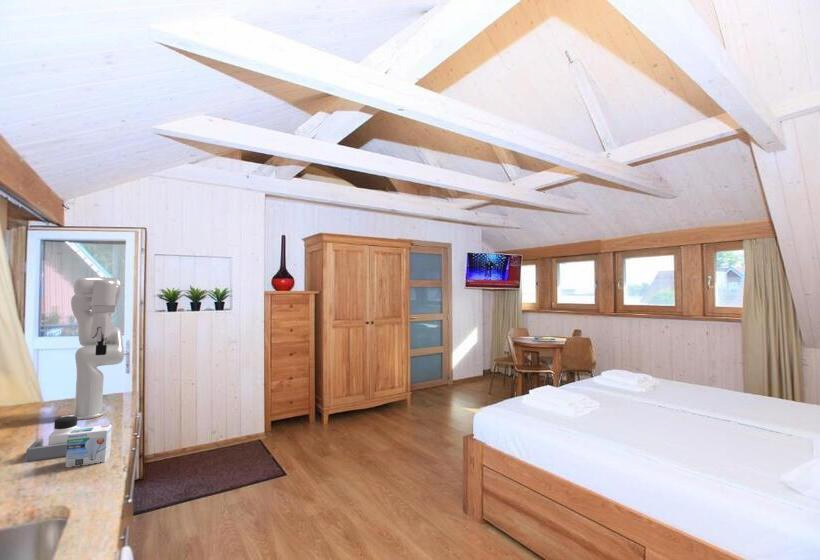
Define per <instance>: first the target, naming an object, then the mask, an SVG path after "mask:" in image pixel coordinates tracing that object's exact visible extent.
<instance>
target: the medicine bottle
mask: <svg viewBox="0 0 820 560" xmlns="http://www.w3.org/2000/svg"><path fill="white" fill-rule="evenodd" d="M53 424H54V426H53V432H52V433H50V434H49V436H48V444H47V446H48V445H56V444H63V443H67V438H68V434H69V433H70V432H71V431H72V430H73V429H74V428H82V427H81V426H78V420H77V417H76V416H70V415H63V416H60V417H58V418H57V417H56V419H55V420H54V423H53Z"/></svg>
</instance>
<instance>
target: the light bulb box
mask: <svg viewBox="0 0 820 560" xmlns="http://www.w3.org/2000/svg"><path fill="white" fill-rule="evenodd" d="M112 428H113V425H112V424H110V423H109V424H105V425H94V426H85V427H83V426H82V427H81V428H74V429H73V430H72V431H71V432H70V433H69V434H68V438H67V452H66V456H65V466H64V467H67V468H72V466H75V467H81V466H80V465H82V466H87V465H88V464H90V465H94V463H97V464H101V463H100V462H104V463H106V462H107V460H108V459H109V457H110V456H111V445H112V444H111V442H112ZM109 455H110V456H109ZM107 458H108V459H107ZM105 461H106V462H105Z"/></svg>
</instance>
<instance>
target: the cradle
mask: <svg viewBox="0 0 820 560" xmlns="http://www.w3.org/2000/svg"><path fill="white" fill-rule="evenodd" d="M66 452H67V443H63V444H56V445H48V444H47V445H44V438H37V440H35V441H34V442H33V443H32V444H31V445H30V446H29V447H28V448H26V453H25V462H27V461H28V462H34V461H40V460H41V461H42V460H49V459H55V458H62V456H64V457H66ZM28 462H27V463H28Z"/></svg>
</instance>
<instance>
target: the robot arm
mask: <svg viewBox="0 0 820 560" xmlns="http://www.w3.org/2000/svg"><path fill="white" fill-rule="evenodd" d="M121 292H122V282H121V281H120V279H118V278H117V277H106V276H104V277H100V276H90V277H86V278H76V280H75V281H74V284H73V293H74V294H73V296H72V297H71V299H70V305H71V311H72V314H73V315H74V317H75V320H76V321H77V327H78V329H77V330H78V341H79V345H80V346H82V347H79V348H78V349H77V350H76V351H75V354H74V355H75V356H74V358H75V365H76V382H75V383H76V384H75V385H76V386H75V401H74V402H75V403H74V412H72V413H71V414H70V415H69V416H76V417H77V421H78V420H80V421H81V420H89V419H93V418H99V417H102V416H103V415H105V414H106V413H107V410H106V409H104V408H103V396H104V395H103V394H104V378H105V376H104V374H103V372H102V371H101V370H100V369H98V368H99V367H103V366H113V365H114V366H115V365H119V364H121V363H122V362H123V360H124V358H125V357H124V356H125V352H124V351H125V349H124V341H123V334H122V330H121V328H120V327H119V326H114V325H112V314H116V308H117V306H118V304H119V301H120V295H121Z"/></svg>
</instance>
